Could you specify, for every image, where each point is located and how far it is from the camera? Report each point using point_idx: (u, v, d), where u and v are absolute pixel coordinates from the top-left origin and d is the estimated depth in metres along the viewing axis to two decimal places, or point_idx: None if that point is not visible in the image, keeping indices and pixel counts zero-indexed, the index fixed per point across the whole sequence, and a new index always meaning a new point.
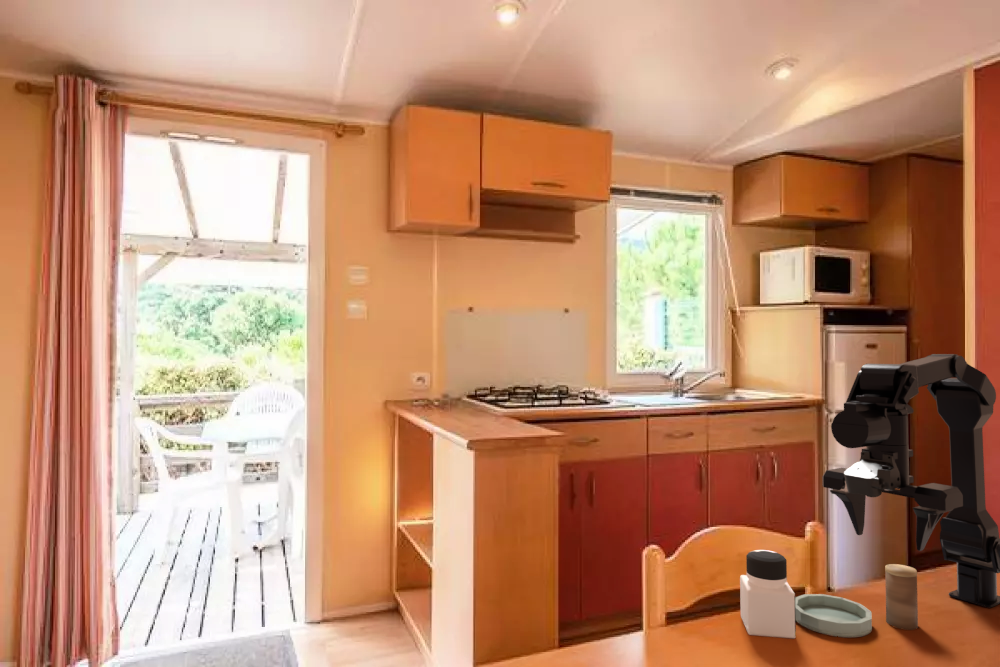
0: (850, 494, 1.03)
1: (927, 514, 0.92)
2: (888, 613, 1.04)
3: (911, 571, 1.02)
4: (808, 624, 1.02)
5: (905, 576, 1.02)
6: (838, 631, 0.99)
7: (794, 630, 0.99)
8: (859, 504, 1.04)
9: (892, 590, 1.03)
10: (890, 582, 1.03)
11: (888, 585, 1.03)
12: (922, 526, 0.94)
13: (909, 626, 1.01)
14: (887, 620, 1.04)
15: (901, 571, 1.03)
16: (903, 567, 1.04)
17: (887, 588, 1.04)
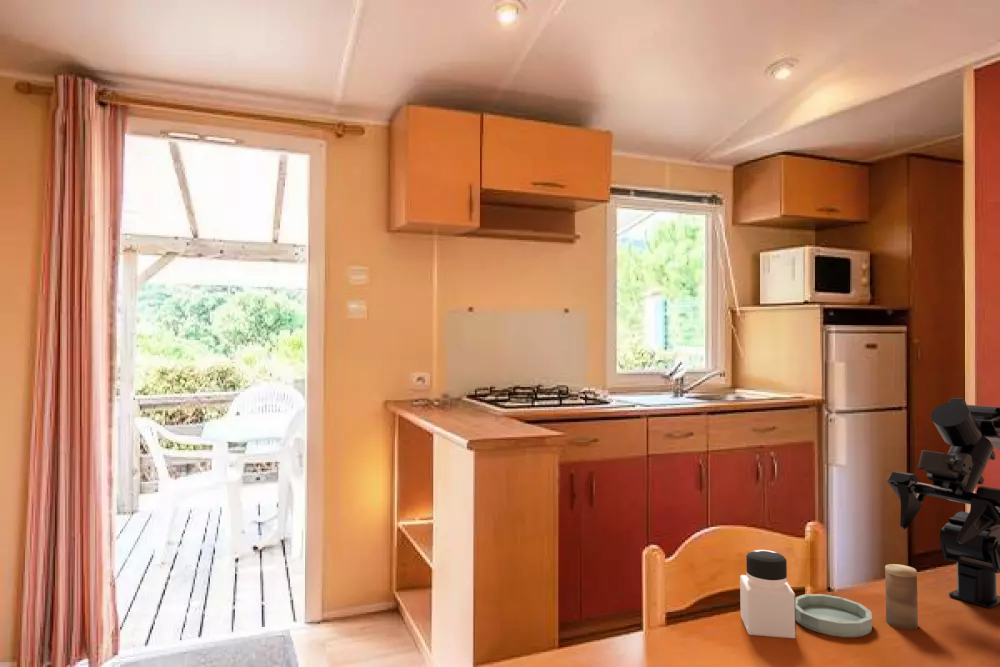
0: (910, 491, 1.14)
1: (983, 505, 1.02)
2: (888, 613, 1.04)
3: (911, 571, 1.02)
4: (808, 624, 1.02)
5: (905, 576, 1.02)
6: (838, 631, 0.99)
7: (794, 630, 0.99)
8: (913, 507, 1.13)
9: (892, 590, 1.03)
10: (890, 582, 1.03)
11: (888, 585, 1.03)
12: (972, 519, 1.03)
13: (909, 626, 1.01)
14: (887, 620, 1.04)
15: (901, 571, 1.03)
16: (903, 567, 1.04)
17: (887, 588, 1.04)
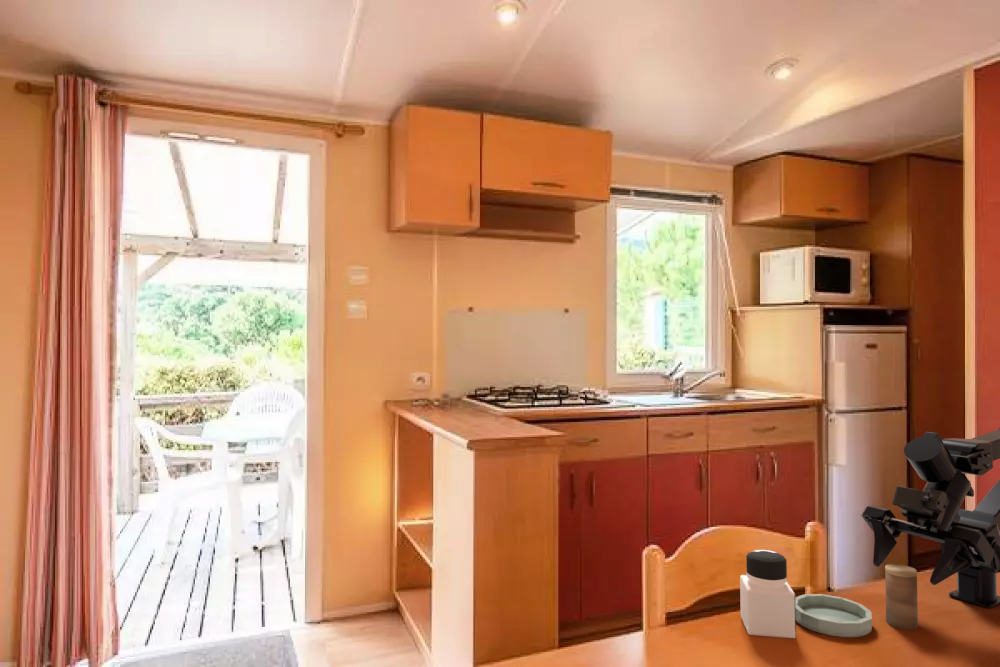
0: (885, 527, 1.10)
1: (956, 546, 0.99)
2: (888, 613, 1.04)
3: (911, 571, 1.02)
4: (808, 624, 1.02)
5: (905, 576, 1.02)
6: (838, 631, 0.99)
7: (794, 630, 0.99)
8: (887, 543, 1.10)
9: (892, 590, 1.03)
10: (890, 582, 1.03)
11: (888, 585, 1.03)
12: (945, 559, 1.00)
13: (909, 626, 1.01)
14: (887, 620, 1.04)
15: (901, 571, 1.03)
16: (903, 567, 1.04)
17: (887, 588, 1.04)
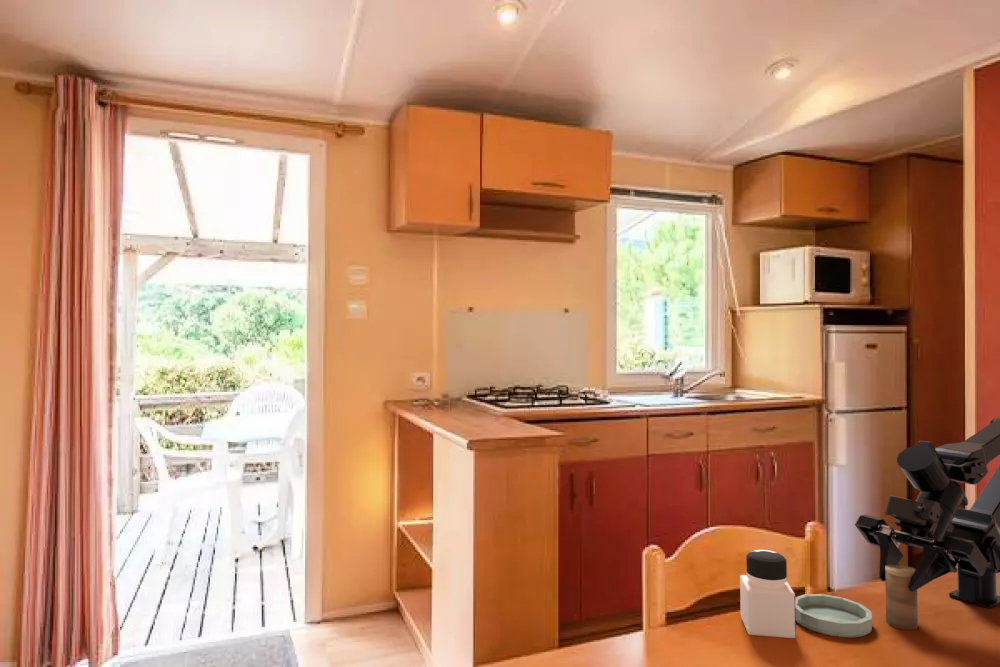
0: (891, 540, 1.07)
1: (934, 552, 1.00)
2: (888, 613, 1.04)
3: (911, 571, 1.02)
4: (808, 624, 1.02)
5: (905, 576, 1.02)
6: (838, 631, 0.99)
7: (794, 630, 0.99)
8: (893, 557, 1.07)
9: (891, 590, 1.03)
10: (890, 582, 1.03)
11: (888, 585, 1.03)
12: (924, 566, 1.01)
13: (909, 626, 1.01)
14: (887, 620, 1.04)
15: (901, 571, 1.03)
16: (903, 567, 1.04)
17: (887, 588, 1.04)
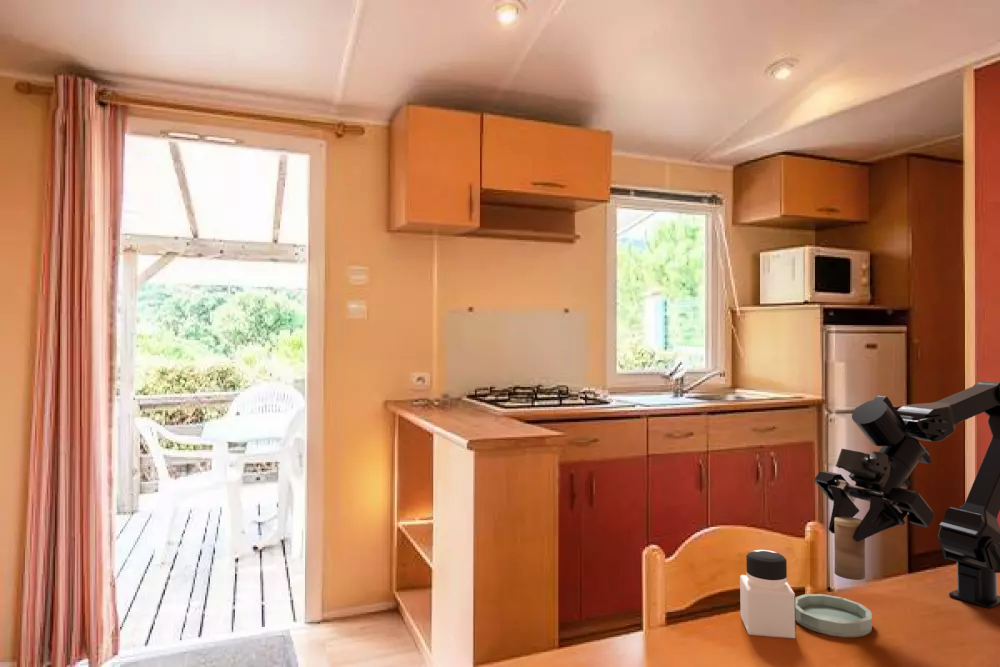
0: (844, 494, 1.08)
1: (880, 503, 1.00)
2: (835, 563, 1.04)
3: (858, 522, 1.03)
4: (808, 624, 1.02)
5: (850, 526, 1.02)
6: (838, 631, 0.99)
7: (794, 630, 0.99)
8: (846, 511, 1.08)
9: (838, 540, 1.04)
10: (837, 532, 1.04)
11: (836, 535, 1.04)
12: (869, 516, 1.01)
13: (854, 576, 1.02)
14: (835, 571, 1.05)
15: (848, 522, 1.03)
16: (852, 519, 1.05)
17: (835, 539, 1.05)
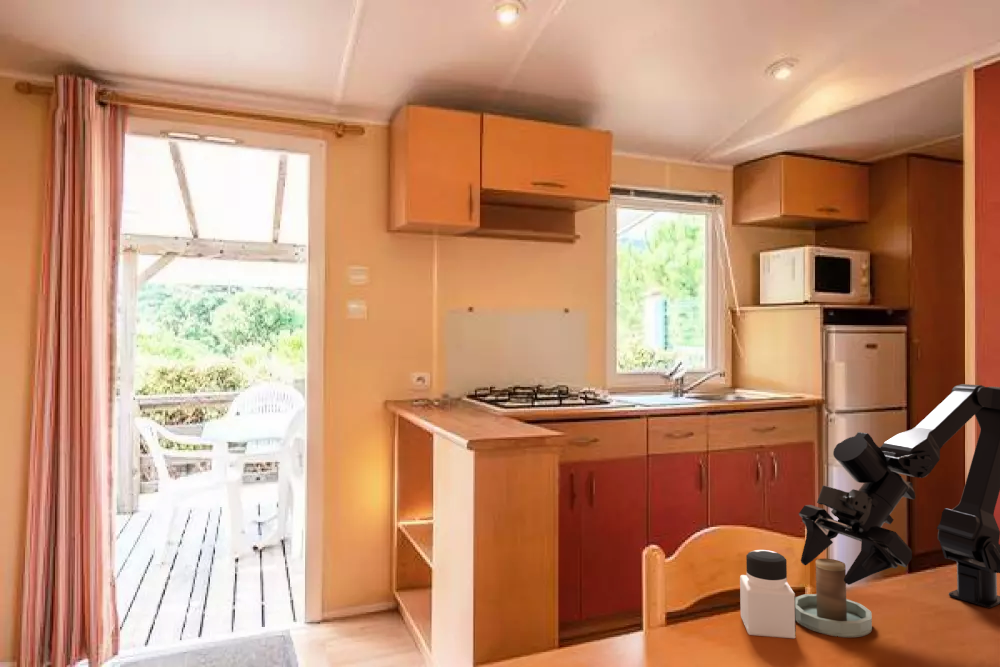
0: (817, 527, 1.10)
1: (870, 546, 0.99)
2: (817, 606, 1.05)
3: (839, 565, 1.03)
4: (808, 624, 1.02)
5: (830, 570, 1.03)
6: (838, 631, 0.99)
7: (794, 630, 0.99)
8: (819, 543, 1.10)
9: (819, 583, 1.04)
10: (818, 575, 1.05)
11: (817, 578, 1.05)
12: (860, 559, 1.00)
13: (835, 619, 1.03)
14: (817, 613, 1.05)
15: (828, 565, 1.04)
16: (833, 562, 1.05)
17: (816, 581, 1.05)
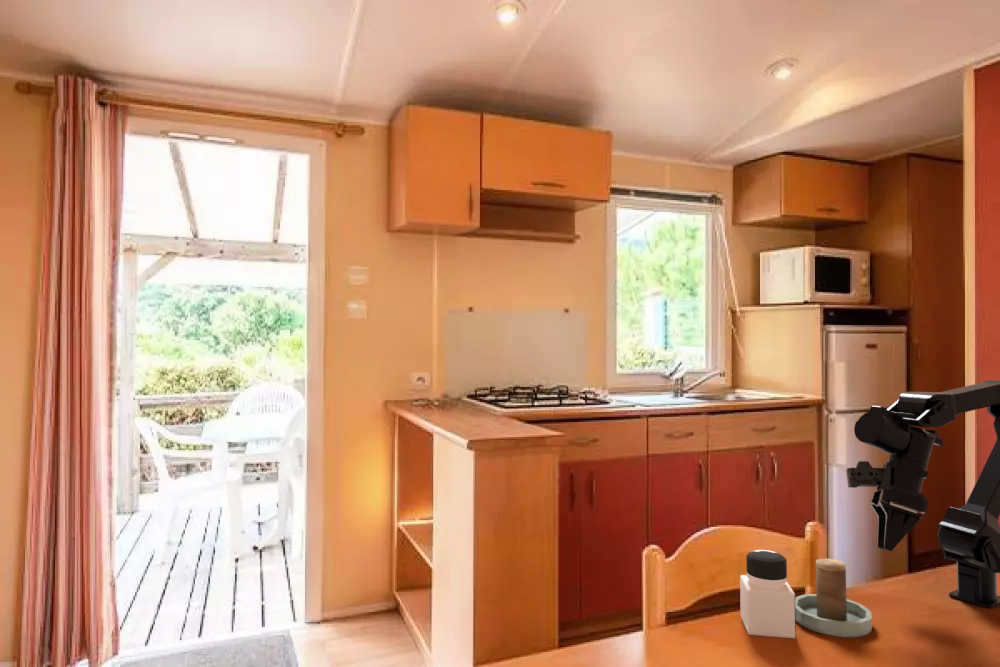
0: (880, 508, 1.14)
1: (882, 507, 1.03)
2: (817, 606, 1.05)
3: (839, 565, 1.03)
4: (808, 624, 1.02)
5: (831, 570, 1.03)
6: (838, 631, 0.99)
7: (794, 630, 0.99)
8: None
9: (819, 583, 1.04)
10: (818, 575, 1.05)
11: (817, 578, 1.05)
12: (886, 523, 1.04)
13: (835, 619, 1.03)
14: (817, 613, 1.05)
15: (828, 565, 1.04)
16: (834, 562, 1.05)
17: (816, 581, 1.05)
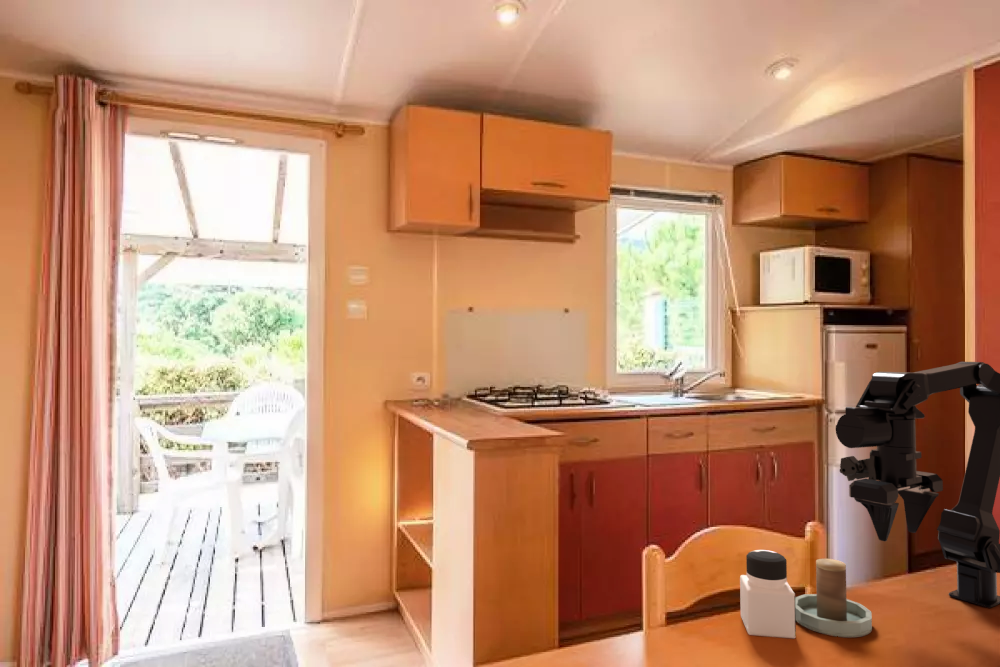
0: (903, 491, 1.12)
1: None
2: (817, 606, 1.05)
3: (839, 566, 1.03)
4: (808, 624, 1.02)
5: (831, 570, 1.03)
6: (838, 631, 0.99)
7: (794, 630, 0.99)
8: (915, 505, 1.10)
9: (819, 583, 1.04)
10: (818, 575, 1.05)
11: (817, 578, 1.05)
12: None
13: (835, 619, 1.03)
14: (817, 613, 1.05)
15: (828, 565, 1.04)
16: (834, 562, 1.05)
17: (816, 581, 1.05)
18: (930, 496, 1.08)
